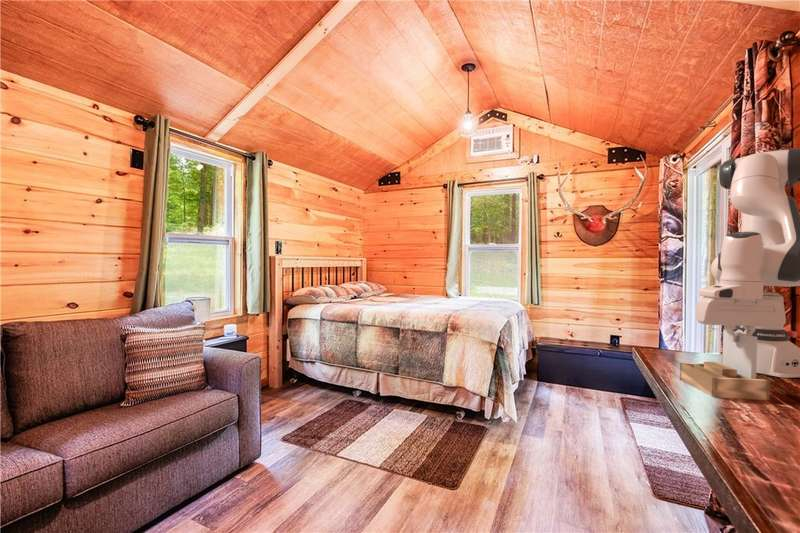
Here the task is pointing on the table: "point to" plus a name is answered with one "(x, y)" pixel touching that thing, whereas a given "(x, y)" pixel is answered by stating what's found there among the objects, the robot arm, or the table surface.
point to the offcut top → (721, 369)
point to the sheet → (741, 354)
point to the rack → (724, 383)
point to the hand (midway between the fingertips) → (739, 341)
